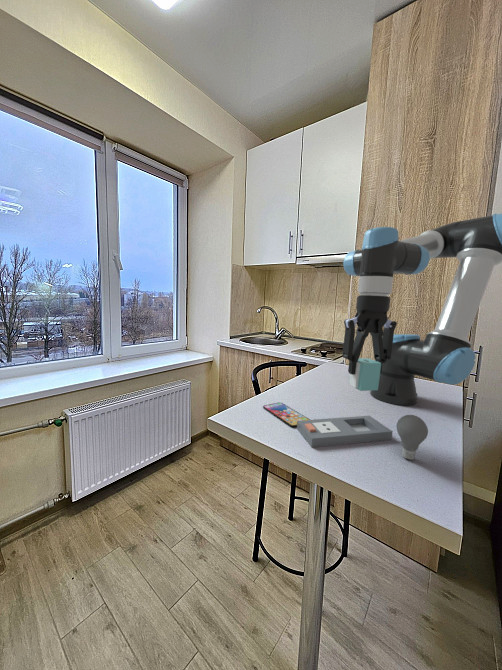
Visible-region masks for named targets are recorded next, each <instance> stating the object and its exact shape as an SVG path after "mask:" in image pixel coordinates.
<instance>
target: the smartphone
mask: <svg viewBox="0 0 502 670" xmlns="http://www.w3.org/2000/svg"><path fill="white" fill-rule="evenodd" d="M262 409H264V410H265V411H266V412H268V413H269V414H270V415H272V416H273V417H275V418H276V419H278V420H279V421H281V422H282V423H284V424H285V425H286V426H287V427H289V428H292V429H295V428H296V429H297V421H302V420H311V419H310V418H309V417H306V416H305V415H303V414H301V412H298V411H297V410H296V409H294V408H291V407H290V406H288V405H287V404H284V403H283V402H274V403H269V404H266V405H265V404H264V405H263V406H262Z"/></svg>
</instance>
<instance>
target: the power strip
mask: <svg viewBox="0 0 502 670" xmlns="http://www.w3.org/2000/svg"><path fill="white" fill-rule="evenodd" d="M296 430H298V432H299V433H300V434H301V436H302V438H303V439H304V440H305V441H306V442H307V444H308V445H309V446H310V447H311V448H317V447H327V446H338V445H348V444H349V445H350V444H358V443H369V442H370V441H371V442H379V441H380V440H381V441H388V440H389V441H390V439H391V440H392V438H393V430H391V429H390V428H388V427H387V426H386V425H384V424H383V423H381V422H379V420H376V419H375V418H374V417H372V416H371V415H359V416H357V415H356V416H345V417H344V416H343V417H331V418H320V419H319V418H318V419H317V418H316V419H310V420H302V421H297V427H296Z"/></svg>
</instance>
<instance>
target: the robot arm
mask: <svg viewBox="0 0 502 670" xmlns="http://www.w3.org/2000/svg"><path fill="white" fill-rule="evenodd" d="M363 235H364V236H363V241H362V247H361V249H356V250H353V251H349V252H348V253H347V254H346V255H345V256H344V260H343V269H344V271H345V273H346V274H347V275H349V276H356V277H359V278H358V287H357V293H358V294H359V295H357V297H356V304H355V305H356V306H355V310H356V313H355V315H354V317H353V318H349V319H347V318H345V319H344V320H343V324H344V337H343V345H342V355H341V356H342V358H343V359H346V360H347V361H348V368H347V369H348V374H349V379H350V382H349V381H348V385H349V386H351V387H352V388H354V389H356V388H358V382H359V373H360V364H361V363H359V362H358V359H359V358H360V357H361V353H362V351H363V348H364V345H365V342H366V339H367V338H368V336H369V335H371V341H372V351H373V358H374V359H373V360H374V361H377V362H379V363H381V369H380V377H379V385H378V390H370V391H369V393H370V396H372V397H373V398H374V399H376V400H379V401H381V402H385V403H388V404H392V405H398V406H413V405H416V404H417V403H418V392H417V388H416V383H415V382H416V381H415V377H416V376H418V377H422V378H425V379H427V380H430V381H434V382H437V383H439V384H446V385H451V386H453V385H454V386H455V385H458V384H461V383H462V382H463V381H465V380H466V379H467V378H469V376H470V375H471V373H472V370H473V369H474V366H475V364H476V358H477V357H476V352H475V351H474V350H473V349H472V348H471V347H472V343H471V341H470V340H469V339H468V338H469V334H470V333H471V329H472V327H473V324H474V321H475V318H476V316H477V313H478V310H479V307H480V306H481V302H482V299H483V297H484V295H485V292H486V289H487V286H488V284H489V281H490V278H491V275H492V274H493V271H494V268H495V267H496V266H498V265H499V264H501V263H502V213H493V214H492V215H491V214H490V215H486V216H480V217H475V218H470V219H464V220H457V221H454V222H451V223H448V224H444V225H442V226H439V227H436V228H433V229H430V230H426V231H423V232H421V234H419V235H417V236H414V237H408V238H404V239H402V240H399V239H400V237H399V231H398V229H397V228H396V227H391V226H381V227H380V226H378V227H373V228H370V229H368V230H367V231H365V232H364V234H363ZM440 258H456V259H457V261H459V264H458V265H457V269H456V272H455V274H454V277H453V280H452V282H451V285H450V288H449V290H448V293H447V296H446V299H445V301H444V303H443V305H442V309H441V311H440V315H439V316H438V319H437V322H436V325H435V328H434V330H432V331H430V332H428V333H427V334H426V336H425V338H424V340H422V339H421V335H419V334H414V333H413V334H411V333H410V334H408V333H403V334H401V333H399V334H396V333H395V329H396V328H397V325H398V322H397V321H396V320H395V321H394V320H390V319H389V318H388V312H389V311H390V304H391V297H390V296H389V295H391V294H392V292H393V291H392V290H393V281H394V275H398V274H400V275H401V274H402V275H406V276H407V275H417V274H419V273H422V272H424V270H426V268H427V267H428V266H429V262H430V260H432V259H440ZM356 327H357V329H356Z"/></svg>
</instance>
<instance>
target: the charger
mask: <svg viewBox="0 0 502 670" xmlns="http://www.w3.org/2000/svg"><path fill="white" fill-rule="evenodd" d="M374 360H375V359H371V358H369V357H368V358H365V357H364V358H362V357H361V358H360V357H359V359H358V362H359V363H361V364H360V373H359V382H358V388H355V389H357V390H358V391H360V392H363V391H364V392H367V391H368V392H370V390H378V385H379V377H380V369H381V363H379V362H377V361H374ZM349 382H350V378H349V379H348V383H349Z"/></svg>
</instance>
